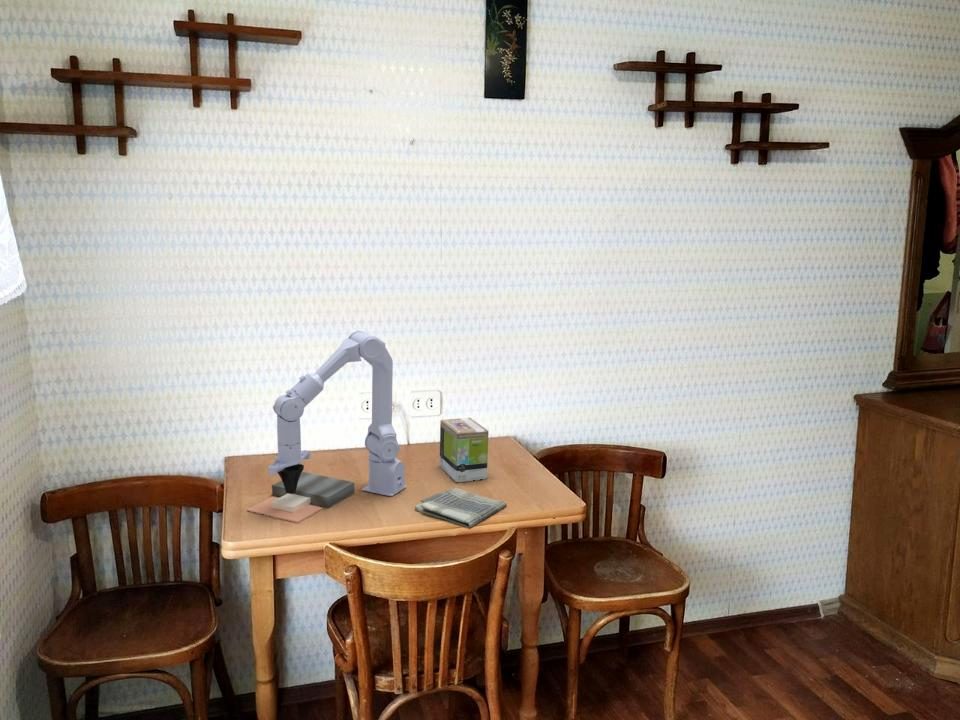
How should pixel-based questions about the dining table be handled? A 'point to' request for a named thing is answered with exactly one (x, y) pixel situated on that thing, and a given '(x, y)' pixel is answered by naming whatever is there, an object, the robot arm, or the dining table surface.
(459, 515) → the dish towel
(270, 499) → the mat
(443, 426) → the tea box
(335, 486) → the plate
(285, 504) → the coaster
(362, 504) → the dining table surface
